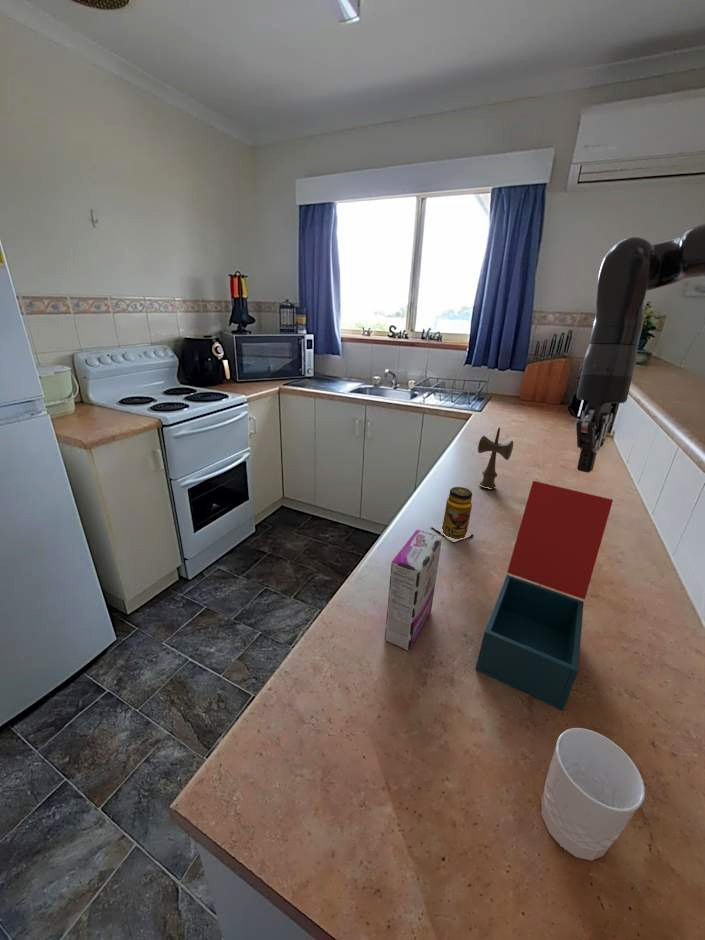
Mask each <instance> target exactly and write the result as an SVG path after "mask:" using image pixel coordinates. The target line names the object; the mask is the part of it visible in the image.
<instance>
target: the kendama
mask: <svg viewBox="0 0 705 940" xmlns="http://www.w3.org/2000/svg"><path fill="white" fill-rule="evenodd" d="M500 433H501V427H498V428H497V431H496V435H495V439H494V441H492V440H490V439H489V438H488V437H487V436H486V435H482V436H481V438H480V439H479V442H478V445H477V452H478V454H483V453H486V452H491V454H490V458H489V460H488V462H487V465H486V468H485V470H483V471H482V473H481V474H482V480H481V481H480V482H479V483H480V485H482V486H484V487H489V488H494V487H496V488H497V485H496V483H495V479H496V478H497V477H498V473H497V472H496V461H497V454H499V455H500V456H502V458H503V459H504V460H506V461H508V460H510V458H511V456H512V453H513V449H514V441H513V440H509V441H506V442H501V443H500V442H499V439H500ZM480 485H479V486H480Z"/></svg>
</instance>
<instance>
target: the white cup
mask: <svg viewBox="0 0 705 940" xmlns="http://www.w3.org/2000/svg"><path fill="white" fill-rule="evenodd" d="M645 795H646V789H645V783H644V779H643V777H642V774H641V773H640V771H639V769H638V767H637V766H636V764H635V762H634V761H633V760H632V758H631V757H630V756H629V755H628V754H627V753H626V752H625V750H623V749H622V748H621V747H620V746H619V745H617V744H616V743H615V742H614V741H613V740H611V739H609V738H608V737H606V736H604V735H603V734H601V733H598V732H596V731H594V730H592V729H588V728H582V727H574V728H573V727H571V728H568V729H566V730H564V731H563V732H562V733H561V734H560V735H559V736H558V738H557V740H556V744H555V748H554V750H553V754H552V757H551V760H550V763H549V767H548V771H547V775H546V779H545V782H544V787H543V792H542V795H541V798H540V813H541V814H540V815H541V817H542V820H543V822H544V824H545V827H546V829H547V831H548V833H549V834H550V836H551V837H552V838H553V839H554V840H555V841H556V843H557V842H558V843H557V844H558V845H559V844H560V845H559V847H561V848H562V847H563V848H564V849H563V848H562V849H563V850H565V851H566V850H567V851H566V852H568V853H569V854H571V855H572V856H574V857H575V858H577V859H581V860H586V861H591V862H592V861H595V860H597V859H599V858H602V857H603V856H604V855H605V854H606V853H607V851H608V850H609V848H610V846H612V845H613V844H614V843H615V842H616V841H617V840H618V838H619V836H620V835H621V834H622V833H623V832H624V830H625V829H626V827H627V826H628V825H629V823H630V821H631V820H632V819H633V817H634V816H635V814H636V813H637V811H638V810H639V808H640V807H641V806H642V804H643V802H644V800H645Z"/></svg>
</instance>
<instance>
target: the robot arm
mask: <svg viewBox="0 0 705 940" xmlns="http://www.w3.org/2000/svg"><path fill="white" fill-rule="evenodd" d="M704 277H705V223H703V224H700V225H697V226H694V227H692V228H690V229H688V230H687V231H685V232H684V233H683V235H681V236H679V237H676V238H673V239H669V240H665V241H663V242H659V243H655V244H652V243H651V242H650V241H649V240H647V239H646V238H643V237H639V236H633V237H627V238H625V239H621V240H620V241H618V242H616V243H615V244H614V245H613V246H612V247H611V248H609V250H608V251H607V253H606V254H605V255H604V258H603V260H602V262H601V265H600V269H599V272H598V278H597V279H598V280H597V287H596V288H597V289H596V301H595V303H596V304H595V316H594V321H593V324H592V329H591V332H590V337H589V342H588V346H587V350H586V352H585V355H584V358H583V363H582V368H581V373H580V377H579V382H578V387H577V392H576V399H577V400H580V401H586V402H587V404H586V406H585V409H584V410H582V412H581V414H580V419H579V420H577V422H576V423H575V424H576V446H577V448H578V449H579V451H580V452H579V453H580V454H579V458H578V462H577V467H576V469H577V471H578V472H583V473H587V474H588V473H590V472H593V470H594V467H595V462H596V457H597V453H598V452H599V451H600V450H601V448H602V447H603V446H604V444H605V441H606V438H607V435H608V433H609V430H610V429H611V427H612V424H613V422H614V421H613V415H614V414H613V412H611V411H612V404H624V403H626V402H627V400H628V397H629V393H630V389H631V384H632V380H633V376H634V372H635V368H636V363H637V359H638V358H637V356H638V348H639V344H640V339H641V334H642V330H643V327H644V321H645V312H644V304H645V299H646V294H647V291H648V292H649V291H652V290H656V289H660V288H662V287H666V286H670V285H673V284H677V283H680V282H682V281H686V280H691V279H696V278H697V279H699V278H704Z"/></svg>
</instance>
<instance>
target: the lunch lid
mask: <svg viewBox="0 0 705 940" xmlns="http://www.w3.org/2000/svg"><path fill="white" fill-rule="evenodd" d="M613 501H614V499H612V498H608V497H604V496H599V495H596V494H591V493H586V492H583V491H578V490H574V489H570V488H565V487H562V486H557V485H554V484H549V483H545V482H544V483H543V482H540V481H536V480H532V483H531V486H530V491H529V494H528V497H527V501H526V504H525V508H524V511H523V514H522V519H521V522H520V525H519V528H518V532H517V536H516V539H515V543H514V547H513V550H512V553H511V557H510V561H509V563H508V567H507V571H506V572H507V574H509V575H513V576H516V577H517V578H518V577H519V578H520V579H524V580H526V581H527V580H528V581H529V582H532V583H536V584H538V585H541V586H543V587H544V586H545V587H547V588H550V589H553V590H556V591H559V592H561V593H563V594H564V593H565V594H566V595H567V594H568V595H570V596H572V597H576V598H579V599H582V600H586V596H587V594H588V589H589V586H590V582H591V579H592V576H593V572H594V568H595V565H596V562H597V559H598V554H599V550H600V547H601V544H602V541H603V537H604V533H605V529H606V526H607V523H608V519H609V516H610V513H611V512H610V511H611V509H612V506H613Z"/></svg>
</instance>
